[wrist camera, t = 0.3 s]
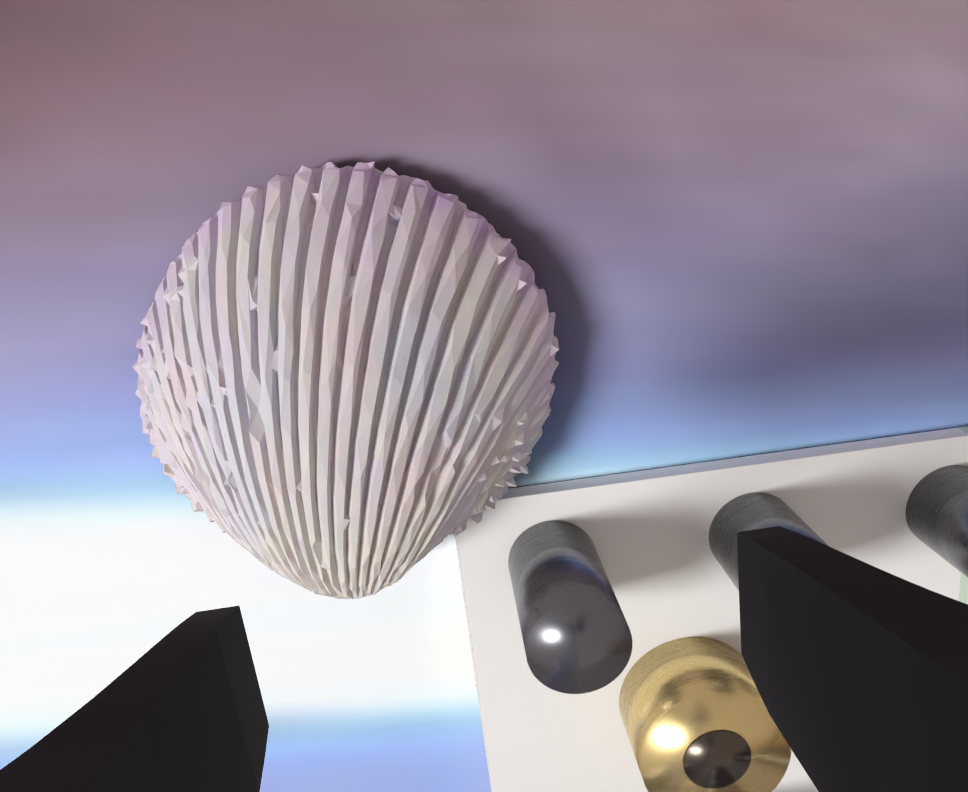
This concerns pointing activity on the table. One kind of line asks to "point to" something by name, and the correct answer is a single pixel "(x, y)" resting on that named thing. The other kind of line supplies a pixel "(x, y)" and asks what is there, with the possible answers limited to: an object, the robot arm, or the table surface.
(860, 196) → the table surface
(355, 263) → the seashell
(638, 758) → the brass knob
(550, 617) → the spacers
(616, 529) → the field mat
